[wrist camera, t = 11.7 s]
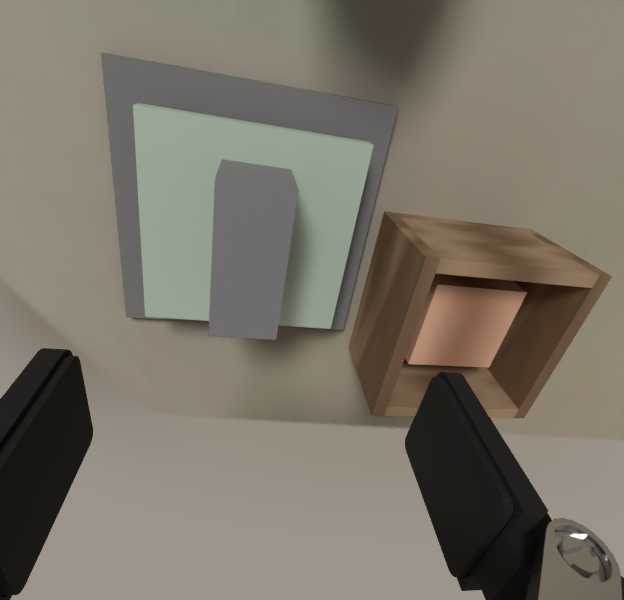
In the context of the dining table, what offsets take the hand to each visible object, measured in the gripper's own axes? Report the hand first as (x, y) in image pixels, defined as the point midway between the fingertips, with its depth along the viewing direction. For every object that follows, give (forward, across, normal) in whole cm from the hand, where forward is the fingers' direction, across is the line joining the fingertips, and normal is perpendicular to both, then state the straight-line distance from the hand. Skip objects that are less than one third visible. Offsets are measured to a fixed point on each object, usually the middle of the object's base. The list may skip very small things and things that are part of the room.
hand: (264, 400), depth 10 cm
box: (+16, -13, +5) cm, 21 cm away
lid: (+15, +1, +1) cm, 15 cm away
